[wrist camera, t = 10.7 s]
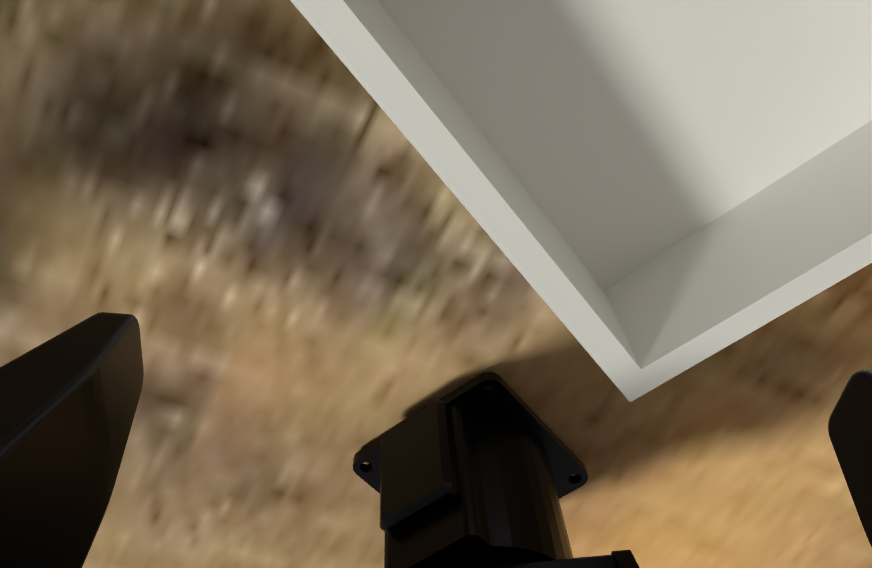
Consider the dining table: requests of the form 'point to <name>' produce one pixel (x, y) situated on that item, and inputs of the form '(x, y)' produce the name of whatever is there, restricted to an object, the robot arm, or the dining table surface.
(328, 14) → the open box
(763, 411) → the dining table surface
